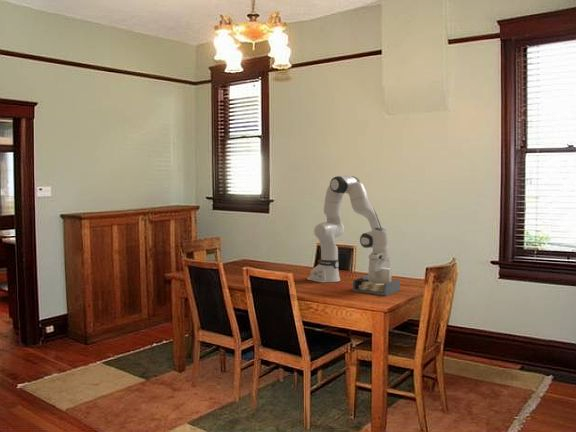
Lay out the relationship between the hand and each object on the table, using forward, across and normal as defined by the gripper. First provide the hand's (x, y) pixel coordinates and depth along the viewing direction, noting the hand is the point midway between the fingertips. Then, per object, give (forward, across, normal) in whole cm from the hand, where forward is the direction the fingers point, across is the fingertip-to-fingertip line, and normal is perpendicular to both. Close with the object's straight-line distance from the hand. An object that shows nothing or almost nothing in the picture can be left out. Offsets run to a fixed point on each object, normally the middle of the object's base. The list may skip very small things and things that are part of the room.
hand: (379, 277), depth 327 cm
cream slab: (+6, 0, 0) cm, 6 cm away
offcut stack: (+6, +8, 0) cm, 10 cm away
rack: (+8, +4, 0) cm, 9 cm away
